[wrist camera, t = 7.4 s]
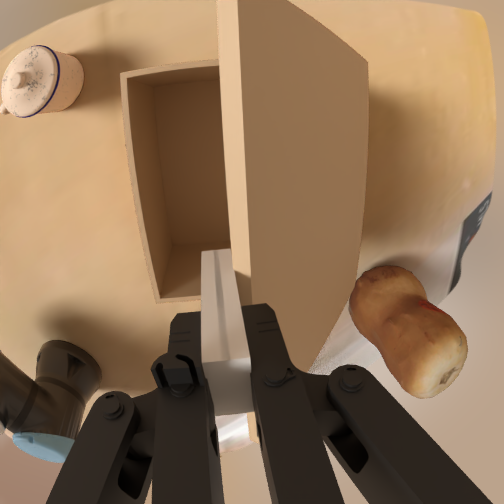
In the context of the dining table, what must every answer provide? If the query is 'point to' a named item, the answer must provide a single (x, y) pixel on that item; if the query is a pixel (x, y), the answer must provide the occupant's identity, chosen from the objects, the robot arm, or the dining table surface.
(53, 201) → the dining table surface
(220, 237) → the carton
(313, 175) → the carton lid
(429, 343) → the butternut squash
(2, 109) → the teacup with lid
